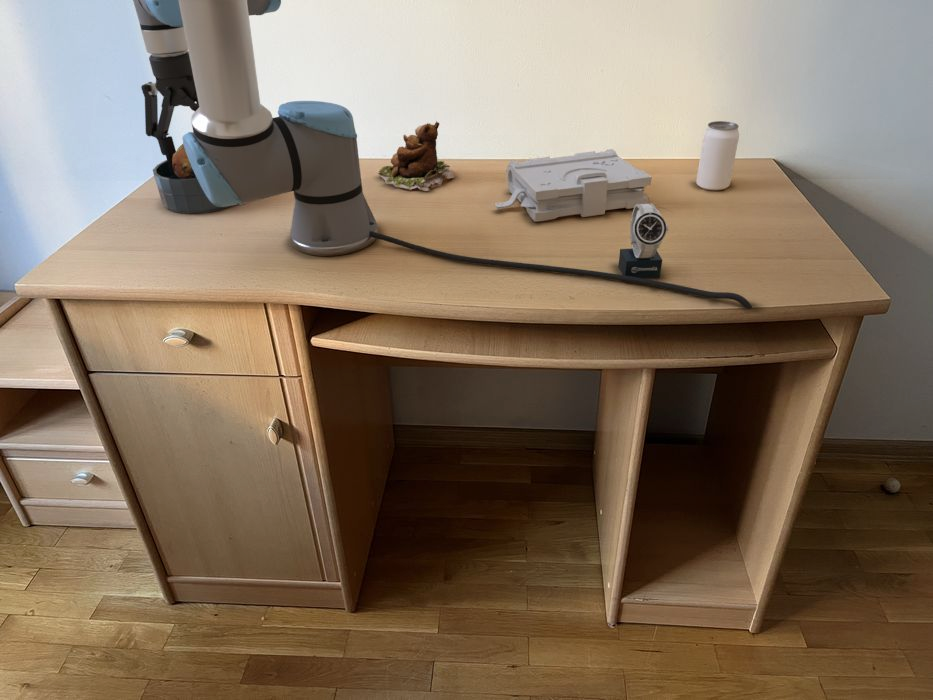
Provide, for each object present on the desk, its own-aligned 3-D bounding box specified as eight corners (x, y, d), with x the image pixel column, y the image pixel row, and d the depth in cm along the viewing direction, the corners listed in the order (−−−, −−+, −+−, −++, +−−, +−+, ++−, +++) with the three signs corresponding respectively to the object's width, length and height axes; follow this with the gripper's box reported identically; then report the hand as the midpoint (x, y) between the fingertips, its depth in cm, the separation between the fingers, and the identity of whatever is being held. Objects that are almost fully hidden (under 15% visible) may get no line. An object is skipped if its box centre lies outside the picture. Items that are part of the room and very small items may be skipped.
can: (731, 191, 133) (743, 130, 126) (697, 190, 134) (708, 129, 127) (726, 180, 138) (737, 120, 132) (693, 179, 139) (703, 120, 132)
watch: (627, 285, 103) (635, 218, 97) (615, 261, 110) (622, 197, 104) (663, 283, 103) (674, 216, 97) (649, 260, 110) (658, 195, 104)
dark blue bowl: (265, 197, 138) (258, 163, 134) (183, 221, 129) (173, 186, 125) (227, 177, 149) (220, 145, 145) (150, 198, 140) (140, 165, 136)
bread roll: (234, 183, 140) (232, 143, 139) (211, 179, 130) (209, 136, 129) (189, 182, 141) (187, 143, 140) (162, 178, 131) (160, 135, 130)
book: (481, 192, 137) (480, 155, 132) (608, 176, 142) (612, 140, 138) (510, 230, 121) (510, 189, 117) (652, 210, 127) (657, 170, 122)
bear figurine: (414, 163, 153) (410, 108, 146) (463, 176, 145) (462, 119, 138) (369, 180, 144) (363, 122, 138) (419, 196, 136) (415, 135, 129)
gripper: (236, 48, 125) (260, 165, 137) (124, 48, 128) (157, 163, 140) (218, 57, 119) (245, 179, 131) (101, 57, 122) (138, 176, 134)
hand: (200, 171), depth 136 cm, fingers closed on bread roll, 10 cm apart
